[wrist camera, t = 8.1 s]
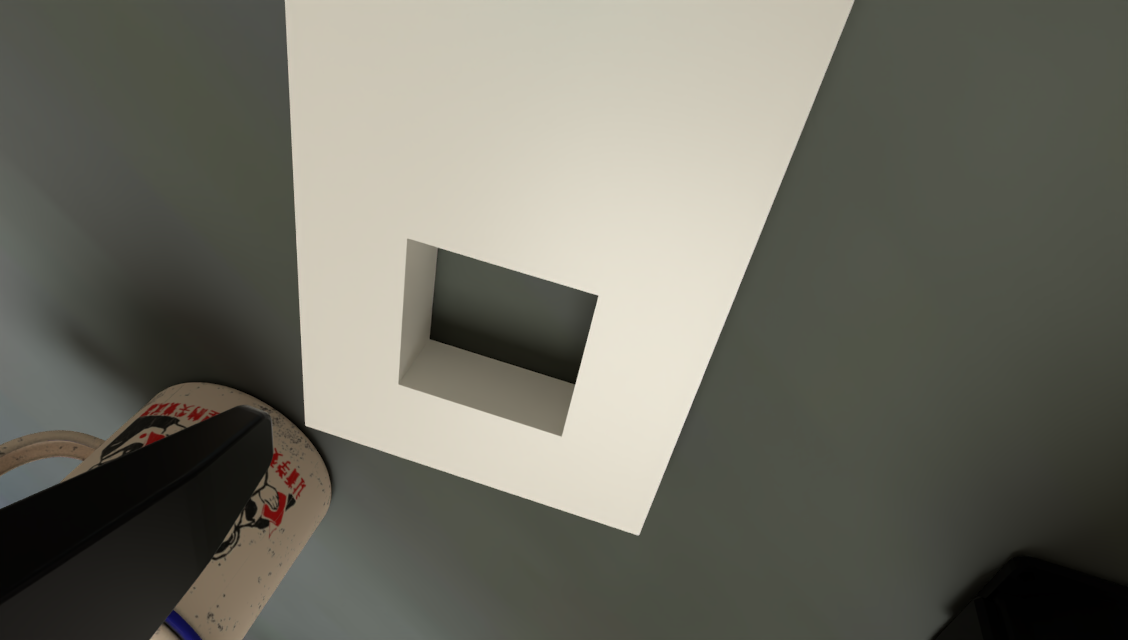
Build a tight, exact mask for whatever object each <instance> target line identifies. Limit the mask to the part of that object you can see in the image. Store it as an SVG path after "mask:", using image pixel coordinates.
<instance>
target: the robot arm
mask: <svg viewBox="0 0 1128 640" xmlns="http://www.w3.org/2000/svg"><path fill="white" fill-rule="evenodd" d="M273 452H274V449H273V427H272V418H271V416H270V414H269V413H267V412H265V411H263V410H260V409H257V408H254V407H252V406H249V405H239V406H236V407H233V408H231V409H229V410H226V411H224V412H222V413H220V414H217V415H215V416H213V417H210V418H208V419H206V420H203V421H201V422H199V423H197V424H194V425H192V426H190V427H187V428H185V429H183V430H180V431H178V432H176V433H174V434H171V435H169V436H167V437H164V438H162V439H160V440H158V441H155V442H153V443H151V444H148V445H146V446H144V447H141V448H139V449H137V450H135V451H132V452H130V453H128V454H125V455H123V456H121V457H118V458H116V459H114V460H112V461H109V462H107V463H105V464H102V465H100V466H98V467H96V468H93V469H91V470H89V471H86V472H84V473H82V474H79V475H77V476H75V477H73V478H70V479H68V480H66V481H63V482H61V483H59V484H57V485H54V486H52V487H50V488H47V489H45V490H43V491H40V492H38V493H36V494H34V495H31V496H29V497H27V498H24V499H22V500H20V501H17V502H15V503H13V504H11V505H8V506H6V507H4V508H1V509H0V640H150V639H151V638H152V636H153V635H154V634H155V632H156V631H157V630H158V629H159V627H160V626H161V625H162V623H163V622H164V621H165V620H166V618H167V617H168V616H169V614H170V613H171V612H172V611H173V609H174V608H175V607H176V605H177V604H178V603H179V602H180V600H181V599H182V598H183V596H184V595H185V594H186V593H187V591H188V590H189V589H190V587H191V586H192V585H193V584H194V582H195V581H196V580H197V578H198V577H199V576H200V574H201V573H202V572H203V570H204V569H205V568H206V566H207V565H208V564H209V562H210V561H211V559H212V558H213V556H214V555H215V553H216V552H217V550H218V549H219V547H220V546H221V544H222V542H223V541H224V539H225V538H226V536H227V534H228V533H229V531H230V530H231V528H232V526H233V525H234V523H235V522H236V520H237V518H238V517H239V515H240V514H241V512H242V510H243V509H244V507H245V505H246V504H247V502H248V501H249V499H250V497H251V496H252V494H253V493H254V491H255V489H256V488H257V486H258V485H259V483H260V481H261V480H262V478H263V477H264V475H265V473H266V472H267V470H268V468H269V466H270V464H271V462H272V459H273ZM935 640H1128V587H1124V586H1121V585H1118V584H1115V583H1112V582H1109V581H1106V580H1102V579H1099V578H1096V577H1093V576H1090V575H1087V574H1083V573H1080V572H1077V571H1074V570H1071V569H1068V568H1064V567H1061V566H1058V565H1055V564H1052V563H1049V562H1045V561H1042V560H1039V559H1036V558H1033V557H1027V556H1023V557H1016V558H1013V559H1012V560H1010V561H1009V562H1008V563H1007V564H1006V565H1005V566H1004V567H1003V568H1002V569H1001V570H1000V571H999V572H998V573H997V574H996V575H995V577H994V578H993V579H992V580H991V581H990V582H989V583H988V584H987V585H986V586H985V587H984V588H983V589H982V590H981V591H980V592H979V593H978V595H977V596H976V597H975V598H974V599H973V600H972V601H971V602H970V603H969V604H968V605H967V606H966V607H965V608H964V609H963V610H962V611H961V612H960V614H959V615H958V616H957V617H956V618H955V619H954V620H953V621H952V622H951V623H950V624H949V625H948V626H947V627H946V628H945V629H944V630H943V632H942V633H941V634H940V635H939V636H938V637H937V638H936V639H935Z"/></svg>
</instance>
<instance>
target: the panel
mask: <svg viewBox="0 0 1128 640" xmlns="http://www.w3.org/2000/svg"><path fill="white" fill-rule="evenodd" d="M853 3H854V0H285V9H286V31H287V52H288V73H289V94H290V115H291V136H292V157H293V178H294V199H295V220H296V241H297V262H298V283H299V304H300V325H301V346H302V367H303V389H304V410H305V426H308V427H311V428H314V429H317V430H320V431H323V432H326V433H329V434H332V435H335V436H338V437H341V438H344V439H347V440H350V441H353V442H356V443H359V444H362V445H365V446H369V447H372V448H375V449H378V450H381V451H384V452H387V453H390V454H393V455H396V456H399V457H402V458H405V459H408V460H411V461H414V462H417V463H420V464H423V465H426V466H429V467H432V468H435V469H438V470H441V471H444V472H447V473H450V474H453V475H456V476H460V477H463V478H466V479H469V480H472V481H475V482H478V483H481V484H484V485H487V486H490V487H493V488H496V489H499V490H502V491H505V492H508V493H511V494H514V495H517V496H520V497H523V498H526V499H529V500H532V501H535V502H538V503H541V504H544V505H548V506H551V507H554V508H557V509H560V510H563V511H566V512H569V513H572V514H575V515H578V516H581V517H584V518H587V519H590V520H593V521H596V522H599V523H602V524H605V525H608V526H611V527H614V528H617V529H620V530H623V531H626V532H629V533H632V534H635V535H639V534H640V531H641V529H642V526H643V524H644V521H645V519H646V516H647V514H648V511H649V509H650V507H651V504H652V502H653V499H654V497H655V494H656V492H657V489H658V487H659V484H660V482H661V479H662V477H663V474H664V472H665V469H666V467H667V464H668V462H669V459H670V457H671V454H672V452H673V449H674V447H675V444H676V442H677V440H678V437H679V435H680V432H681V430H682V427H683V425H684V422H685V420H686V417H687V415H688V412H689V410H690V407H691V405H692V402H693V400H694V397H695V395H696V392H697V390H698V387H699V385H700V382H701V380H702V378H703V375H704V373H705V370H706V368H707V365H708V363H709V360H710V358H711V355H712V353H713V350H714V348H715V345H716V343H717V340H718V338H719V335H720V333H721V330H722V328H723V325H724V323H725V320H726V318H727V315H728V313H729V311H730V308H731V306H732V303H733V301H734V298H735V296H736V293H737V291H738V288H739V286H740V283H741V281H742V278H743V276H744V273H745V271H746V268H747V266H748V263H749V261H750V258H751V256H752V253H753V251H754V248H755V246H756V244H757V241H758V239H759V236H760V234H761V231H762V229H763V226H764V224H765V221H766V219H767V216H768V214H769V211H770V209H771V206H772V204H773V201H774V199H775V196H776V194H777V191H778V189H779V186H780V184H781V181H782V179H783V177H784V174H785V172H786V169H787V167H788V164H789V162H790V159H791V157H792V154H793V152H794V149H795V147H796V144H797V142H798V139H799V137H800V134H801V132H802V129H803V127H804V124H805V122H806V119H807V117H808V114H809V112H810V110H811V107H812V105H813V102H814V100H815V97H816V95H817V92H818V90H819V87H820V85H821V82H822V80H823V77H824V75H825V72H826V70H827V67H828V65H829V62H830V60H831V57H832V55H833V52H834V50H835V48H836V45H837V43H838V40H839V38H840V35H841V33H842V30H843V28H844V25H845V23H846V20H847V18H848V15H849V13H850V10H851V8H852V5H853ZM438 248H441V249H445V250H448V251H451V252H455V253H458V254H461V255H465V256H468V257H471V258H475V259H478V260H481V261H485V262H488V263H491V264H495V265H498V266H501V267H505V268H508V269H511V270H515V271H518V272H521V273H525V274H528V275H532V276H535V277H538V278H542V279H545V280H548V281H552V282H555V283H558V284H562V285H565V286H568V287H572V288H575V289H578V290H582V291H585V292H588V293H592V294H595V295H598V300H597V304H596V308H595V312H594V315H593V319H592V323H591V327H590V331H589V335H588V338H587V342H586V346H585V350H584V354H583V357H582V361H581V365H580V369H579V373H578V377H577V380H576V384H572V383H569V382H565V381H562V380H559V379H556V378H553V377H549V376H546V375H543V374H540V373H536V372H533V371H530V370H527V369H524V368H520V367H517V366H514V365H511V364H508V363H504V362H501V361H498V360H495V359H492V358H488V357H485V356H482V355H479V354H476V353H472V352H469V351H466V350H463V349H460V348H456V347H453V346H450V345H447V344H444V343H440V342H437V341H434V340H431V339H430V329H431V318H432V307H433V296H434V285H435V274H436V263H437V252H438Z"/></svg>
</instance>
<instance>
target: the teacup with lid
mask: <svg viewBox="0 0 1128 640" xmlns="http://www.w3.org/2000/svg"><path fill="white" fill-rule="evenodd" d="M239 405H249V406H252V407H254V408H257V409H260V410H263V411H265V412H267V413H269V414H270V416H271V418H272V427H273V449H274V452H273V459H272V462H271V464H270V466H269V468H268V470H267V472H266V473H265V475H264V477H263V478H262V480H261V481H260V483H259V485H258V486H257V488H256V489H255V491H254V493H253V494H252V496H251V497H250V499H249V501H248V502H247V504H246V505H245V507H244V509H243V510H242V512H241V514H240V515H239V517H238V518H237V520H236V522H235V523H234V525H233V526H232V528H231V530H230V531H229V533H228V534H227V536H226V538H225V539H224V541H223V542H222V544H221V546H220V547H219V549H218V550H217V552H216V553H215V555H214V556H213V558H212V559H211V561H210V562H209V564H208V565H207V566H206V568H205V569H204V570H203V572H202V573H201V574H200V576H199V577H198V578H197V580H196V581H195V582H194V584H193V585H192V586H191V587H190V589H189V590H188V591H187V593H186V594H185V595H184V596H183V598H182V599H181V600H180V602H179V603H178V604H177V605H176V607H175V608H174V609H173V611H172V612H171V613H170V614H169V616H168V617H167V618H166V620H165V621H164V622H163V623H162V625H161V626H160V627H159V629H158V630H157V631H156V632H155V634H154V635H153V636H152V638H151V639H150V640H242V639H243V638H244V636H245V634H246V633H247V631H248V630H249V628H250V627H251V625H252V624H253V622H254V621H255V619H256V618H257V616H258V615H259V613H260V612H261V610H262V609H263V607H264V606H265V604H266V603H267V601H268V600H269V598H270V597H271V595H272V594H273V592H274V591H275V589H276V588H277V586H278V585H279V583H280V582H281V580H282V579H283V577H284V576H285V574H286V573H287V571H288V570H289V568H290V567H291V565H292V564H293V562H294V561H295V559H296V558H297V556H298V555H299V553H300V552H301V550H302V549H303V547H304V546H305V544H306V543H307V541H308V540H309V538H310V537H311V535H312V534H313V532H314V531H315V529H316V528H317V526H318V525H319V523H320V522H321V520H322V519H323V517H324V516H325V514H326V512H327V510H328V508H329V505H330V501H331V483H330V478H329V475H328V471H327V469H326V466H325V464H324V462H323V460H322V458H321V456H320V455H319V453H318V451H317V450H316V448H315V447H314V446H313V444H312V443H311V442H310V441H309V439H308V438H307V437H306V436H305V435H304V434H303V433H302V432H301V431H300V430H299V429H298V428H297V427H296V426H295V425H294V424H293V423H292V422H291V421H290V420H289V419H287V418H286V417H285V416H284V415H282V414H281V413H280V412H278V411H277V410H275V409H274V408H272V407H271V406H269V405H267V404H266V403H264V402H262V401H260V400H259V399H257V398H255V397H253V396H251V395H248V394H246V393H244V392H241V391H239V390H236V389H233V388H230V387H227V386H222V385H218V384H212V383H203V382H191V383H182V384H178V385H174V386H171V387H169V388H167V389H165V390H163V391H161V392H160V393H158V394H157V395H156V396H155V397H154V398H153V399H152V400H150V401H149V402H148V403H147V404H146V405H145V406H144V407H143V408H142V409H141V410H139V411H138V412H137V413H136V414H135V415H134V416H133V417H132V418H131V419H129V420H128V421H127V422H126V423H125V424H124V425H123V426H122V427H121V428H120V429H118V430H117V431H116V432H115V433H114V434H113V435H112V436H111V437H110V438H108V439H107V440H106V441H104V440H102V439H99V438H97V437H94V436H91V435H88V434H84V433H80V432H74V431H64V430H55V431H45V432H39V433H34V434H30V435H26V436H22V437H19V438H16V439H14V440H11V441H9V442H6V443H4V444H2V445H0V476H2V475H3V474H5V473H7V472H8V471H10V470H12V469H14V468H16V467H19V466H21V465H23V464H26V463H29V462H32V461H36V460H40V459H44V458H51V457H68V458H74V459H78V460H82V461H83V462H82V463H81V464H80V465H79V466H78V467H76V468H75V469H74V470H73V471H72V472H71V473H70V474H69V475H68V476H67V477H65V478H64V479H63V480H62V481H61V482H63V481H66V480H68V479H70V478H73V477H75V476H77V475H79V474H82V473H84V472H86V471H89V470H91V469H93V468H96V467H98V466H100V465H102V464H105V463H107V462H109V461H112V460H114V459H116V458H118V457H121V456H123V455H125V454H128V453H130V452H132V451H135V450H137V449H139V448H141V447H144V446H146V445H148V444H151V443H153V442H155V441H158V440H160V439H162V438H164V437H167V436H169V435H171V434H174V433H176V432H178V431H180V430H183V429H185V428H187V427H190V426H192V425H194V424H197V423H199V422H201V421H203V420H206V419H208V418H210V417H213V416H215V415H217V414H220V413H222V412H224V411H226V410H229V409H231V408H233V407H236V406H239ZM61 482H60V483H61Z"/></svg>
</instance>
